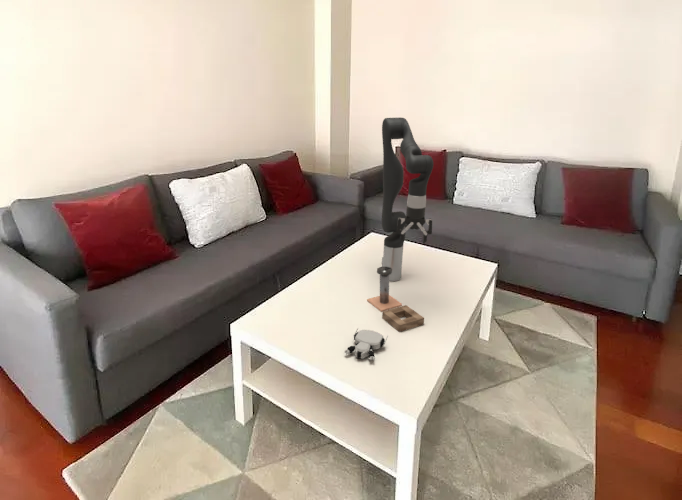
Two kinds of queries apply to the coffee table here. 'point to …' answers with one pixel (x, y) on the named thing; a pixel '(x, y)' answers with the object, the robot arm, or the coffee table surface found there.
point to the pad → (383, 307)
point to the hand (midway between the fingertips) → (413, 242)
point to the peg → (384, 283)
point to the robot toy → (366, 343)
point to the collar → (403, 324)
